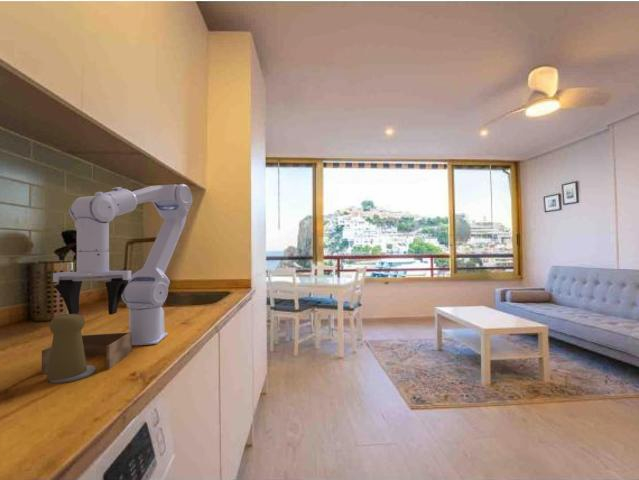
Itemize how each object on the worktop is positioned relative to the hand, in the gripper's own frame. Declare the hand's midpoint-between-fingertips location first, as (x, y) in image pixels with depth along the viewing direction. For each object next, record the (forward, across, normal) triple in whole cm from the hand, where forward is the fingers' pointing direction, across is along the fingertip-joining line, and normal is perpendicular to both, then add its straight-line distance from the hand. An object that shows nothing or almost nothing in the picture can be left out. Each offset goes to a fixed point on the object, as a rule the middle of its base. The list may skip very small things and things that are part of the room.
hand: (93, 314), depth 69 cm
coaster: (+10, 0, -8) cm, 13 cm away
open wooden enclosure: (+10, 0, -1) cm, 10 cm away
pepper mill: (+10, 0, -8) cm, 13 cm away
